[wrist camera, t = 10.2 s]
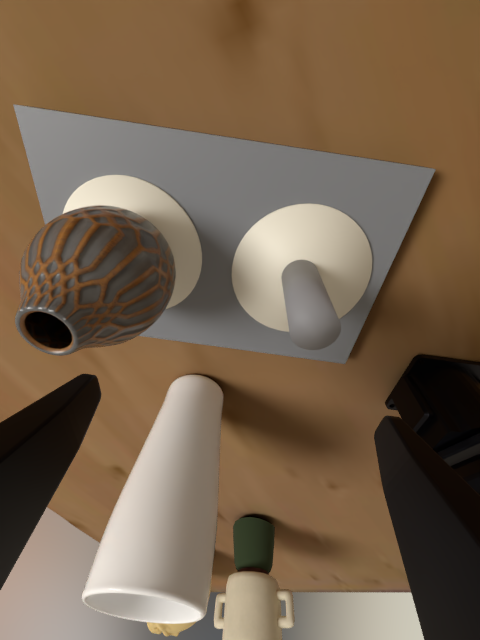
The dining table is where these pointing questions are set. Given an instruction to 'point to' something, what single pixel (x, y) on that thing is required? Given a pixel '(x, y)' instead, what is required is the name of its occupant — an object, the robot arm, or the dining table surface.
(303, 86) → the dining table surface
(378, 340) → the dining table surface
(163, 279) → the vase
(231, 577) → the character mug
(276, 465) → the dining table surface
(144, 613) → the white tapered cylinder
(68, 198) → the board
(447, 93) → the dining table surface
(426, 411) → the robot arm
